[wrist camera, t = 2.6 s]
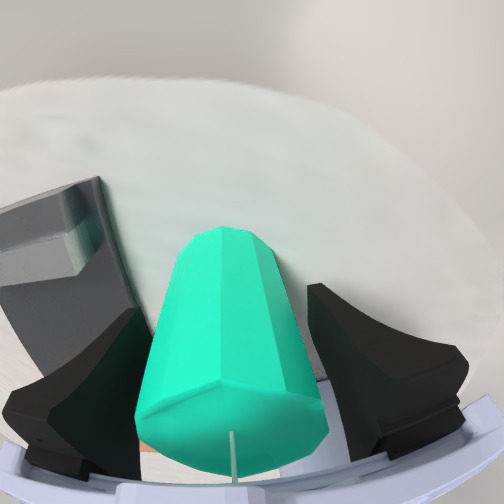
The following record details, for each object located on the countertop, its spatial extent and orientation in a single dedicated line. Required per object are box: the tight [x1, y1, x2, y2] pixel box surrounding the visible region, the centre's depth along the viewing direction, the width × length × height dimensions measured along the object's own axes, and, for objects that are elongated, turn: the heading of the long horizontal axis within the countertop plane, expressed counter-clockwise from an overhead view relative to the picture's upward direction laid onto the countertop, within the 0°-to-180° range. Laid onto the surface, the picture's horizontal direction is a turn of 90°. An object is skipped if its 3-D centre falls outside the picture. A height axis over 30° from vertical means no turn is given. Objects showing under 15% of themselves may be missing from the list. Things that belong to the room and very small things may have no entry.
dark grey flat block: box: [0, 176, 137, 377], centre depth 17 cm, size 23×12×4 cm, turn 7°
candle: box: [135, 227, 330, 483], centre depth 11 cm, size 6×6×12 cm
